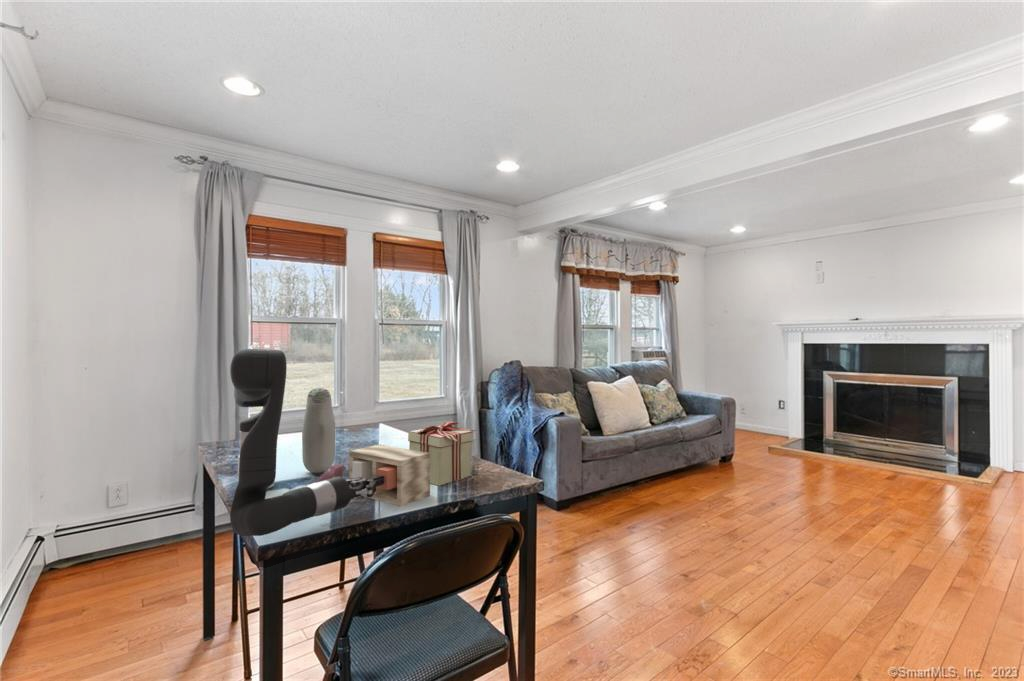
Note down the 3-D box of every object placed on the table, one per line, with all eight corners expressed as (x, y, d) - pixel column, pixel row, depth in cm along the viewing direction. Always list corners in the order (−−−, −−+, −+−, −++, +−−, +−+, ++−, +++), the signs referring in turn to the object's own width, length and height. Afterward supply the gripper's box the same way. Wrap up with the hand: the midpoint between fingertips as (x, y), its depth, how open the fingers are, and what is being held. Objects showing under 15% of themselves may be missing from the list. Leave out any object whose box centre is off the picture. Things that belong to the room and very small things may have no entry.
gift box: (450, 489, 144) (450, 430, 144) (404, 479, 154) (405, 425, 154) (484, 475, 159) (484, 422, 159) (440, 467, 169) (440, 417, 169)
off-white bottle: (297, 472, 163) (297, 388, 163) (327, 466, 170) (327, 386, 170) (309, 478, 156) (309, 390, 156) (340, 472, 163) (340, 388, 163)
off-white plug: (361, 481, 136) (361, 463, 136) (352, 479, 138) (352, 461, 138) (383, 474, 143) (383, 457, 143) (374, 472, 145) (374, 456, 145)
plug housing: (401, 506, 129) (401, 460, 129) (349, 492, 141) (349, 451, 141) (429, 495, 138) (430, 453, 138) (379, 483, 150) (379, 444, 150)
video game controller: (324, 493, 145) (334, 473, 144) (312, 486, 146) (321, 465, 145) (342, 484, 155) (351, 464, 154) (330, 477, 155) (339, 457, 155)
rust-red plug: (387, 490, 128) (387, 471, 128) (376, 487, 130) (376, 468, 130) (409, 482, 135) (409, 464, 135) (399, 480, 137) (399, 462, 137)
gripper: (343, 485, 111) (399, 469, 126) (308, 476, 119) (365, 461, 133) (342, 518, 111) (399, 498, 126) (308, 507, 119) (365, 489, 133)
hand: (381, 479), depth 129 cm, fingers closed
